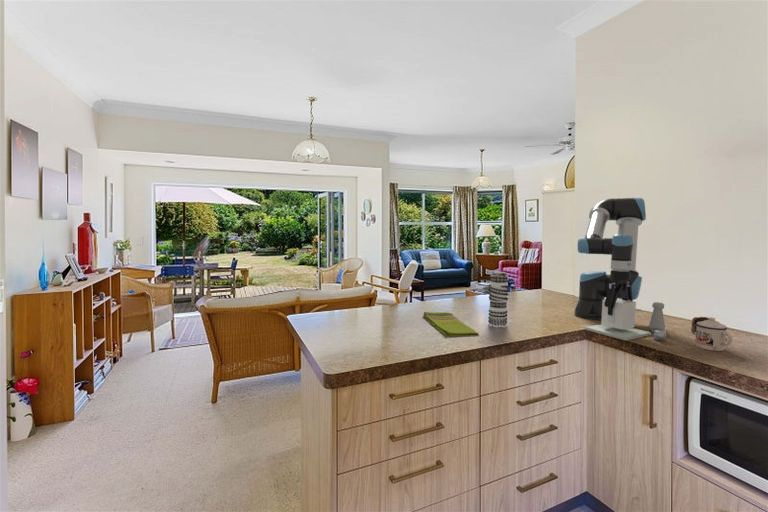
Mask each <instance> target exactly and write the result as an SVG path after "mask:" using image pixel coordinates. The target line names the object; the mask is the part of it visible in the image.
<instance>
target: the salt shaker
mask: <svg viewBox="0 0 768 512" xmlns="http://www.w3.org/2000/svg"><path fill="white" fill-rule="evenodd" d="M652 308H653V310H652V314H651V317H650V321H649V325H648V327H649V330H650V332H651V333H654V330H664V331H665V330H666V325H665V319H664V312H663V309H664V308H665V304H664V303H662V302H657V301H655V302H653V303H652Z"/></svg>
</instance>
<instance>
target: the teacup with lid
mask: <svg viewBox="0 0 768 512" xmlns="http://www.w3.org/2000/svg"><path fill="white" fill-rule="evenodd" d="M696 325H697V329H696V332H695V346H696V347H697V348H699V349H703V350H706V351H713V352H724V351H725V349H726V347H728V346H730V345H731V344H732V343H733V340H734V339H733V336H732V334H730V333H728V332H727V330H728V326H727V325H726V324H723V323H721V322H719V321H718V320H716V318H715V317H708V320H704V321H700V322H697V324H696ZM726 336H727V337H726ZM727 338H728V341H727V342H726V339H727Z"/></svg>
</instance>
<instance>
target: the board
mask: <svg viewBox="0 0 768 512" xmlns="http://www.w3.org/2000/svg"><path fill="white" fill-rule="evenodd" d="M584 330H585V331H589V332H592V333H596V334H599V335H604V336H608V337H611V338H615V339H619V340H622V341H630V340H636V339H640V338H644V336H645V337H648V335H649V336H651V335H652V331H646V330H644V329H640V328H639V329H638V328H635V327H632V328H627V329H618V328H614V327H610V326H606V325H602V324H601V323H600V324H596V325H589V326H584Z"/></svg>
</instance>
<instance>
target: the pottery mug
mask: <svg viewBox="0 0 768 512" xmlns="http://www.w3.org/2000/svg"><path fill="white" fill-rule="evenodd" d="M708 318H709V317H708V316H696V317H695V316H694V317H693V318H692V321H691V328H690V331H691V333H692V334H696V329H697V325H696V324H697V322H700V321H704V320H708Z"/></svg>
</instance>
